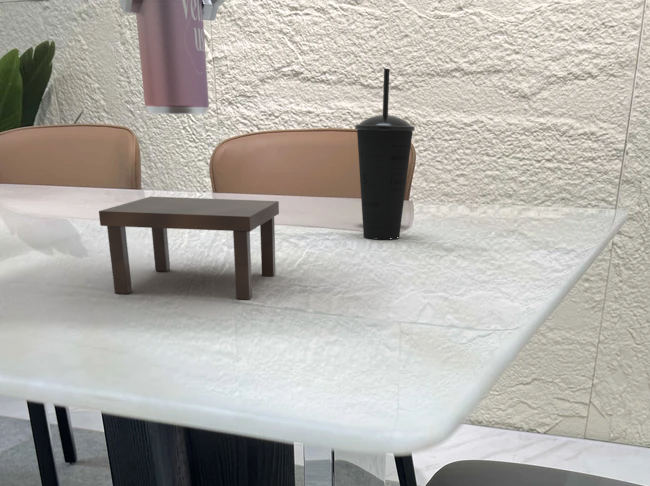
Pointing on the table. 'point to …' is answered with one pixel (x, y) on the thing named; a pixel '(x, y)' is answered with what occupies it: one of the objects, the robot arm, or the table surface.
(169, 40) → the beverage can
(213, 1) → the robot arm
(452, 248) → the table surface
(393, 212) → the drinking cup
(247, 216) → the side table
